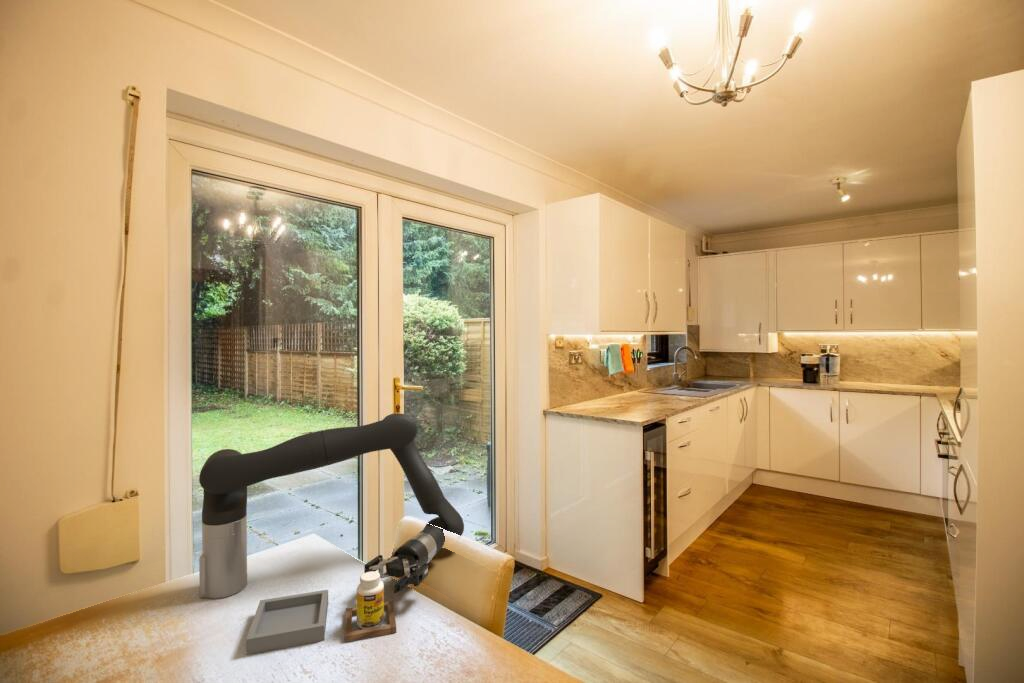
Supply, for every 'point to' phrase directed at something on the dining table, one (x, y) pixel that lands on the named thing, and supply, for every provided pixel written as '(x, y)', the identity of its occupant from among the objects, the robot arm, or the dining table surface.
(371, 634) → the holder frame
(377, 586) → the supplement bottle
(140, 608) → the dining table surface
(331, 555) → the dining table surface
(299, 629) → the tray
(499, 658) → the dining table surface
